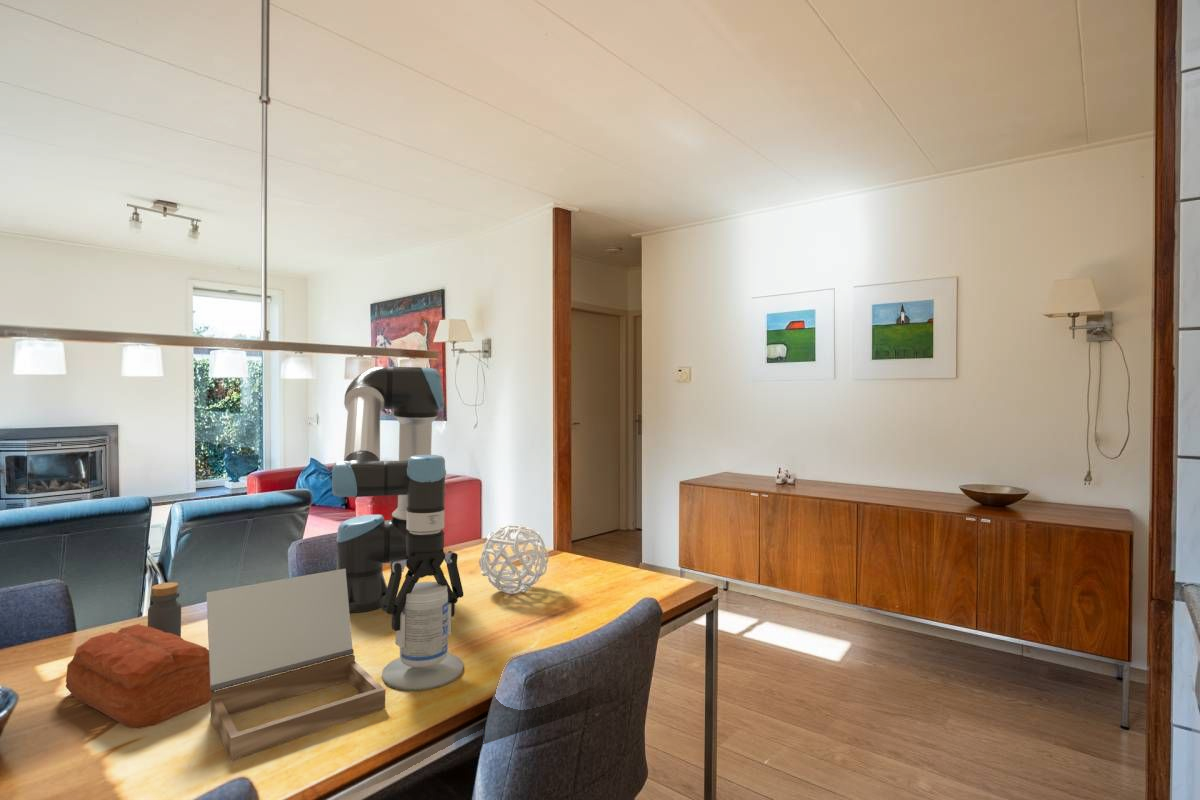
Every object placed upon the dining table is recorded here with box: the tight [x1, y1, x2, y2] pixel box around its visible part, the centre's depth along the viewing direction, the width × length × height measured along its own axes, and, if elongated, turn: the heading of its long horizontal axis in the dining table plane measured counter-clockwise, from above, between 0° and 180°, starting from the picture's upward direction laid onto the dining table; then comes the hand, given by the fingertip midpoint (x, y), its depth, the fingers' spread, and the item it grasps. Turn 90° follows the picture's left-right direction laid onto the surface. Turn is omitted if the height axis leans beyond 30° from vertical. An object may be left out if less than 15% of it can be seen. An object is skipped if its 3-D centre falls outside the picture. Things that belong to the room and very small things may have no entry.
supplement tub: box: [399, 581, 449, 668], centre depth 125 cm, size 10×10×15 cm
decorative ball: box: [478, 524, 550, 595], centre depth 176 cm, size 20×20×19 cm
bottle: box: [147, 581, 182, 638], centre depth 130 cm, size 6×6×15 cm
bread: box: [65, 623, 213, 729], centre depth 113 cm, size 16×27×11 cm, turn 61°
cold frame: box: [210, 653, 386, 761], centre depth 108 cm, size 16×24×4 cm
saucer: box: [381, 652, 464, 692], centre depth 125 cm, size 16×16×1 cm
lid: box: [206, 568, 355, 692], centre depth 116 cm, size 17×24×2 cm
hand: (423, 638), depth 125 cm, fingers closed on supplement tub, 9 cm apart
